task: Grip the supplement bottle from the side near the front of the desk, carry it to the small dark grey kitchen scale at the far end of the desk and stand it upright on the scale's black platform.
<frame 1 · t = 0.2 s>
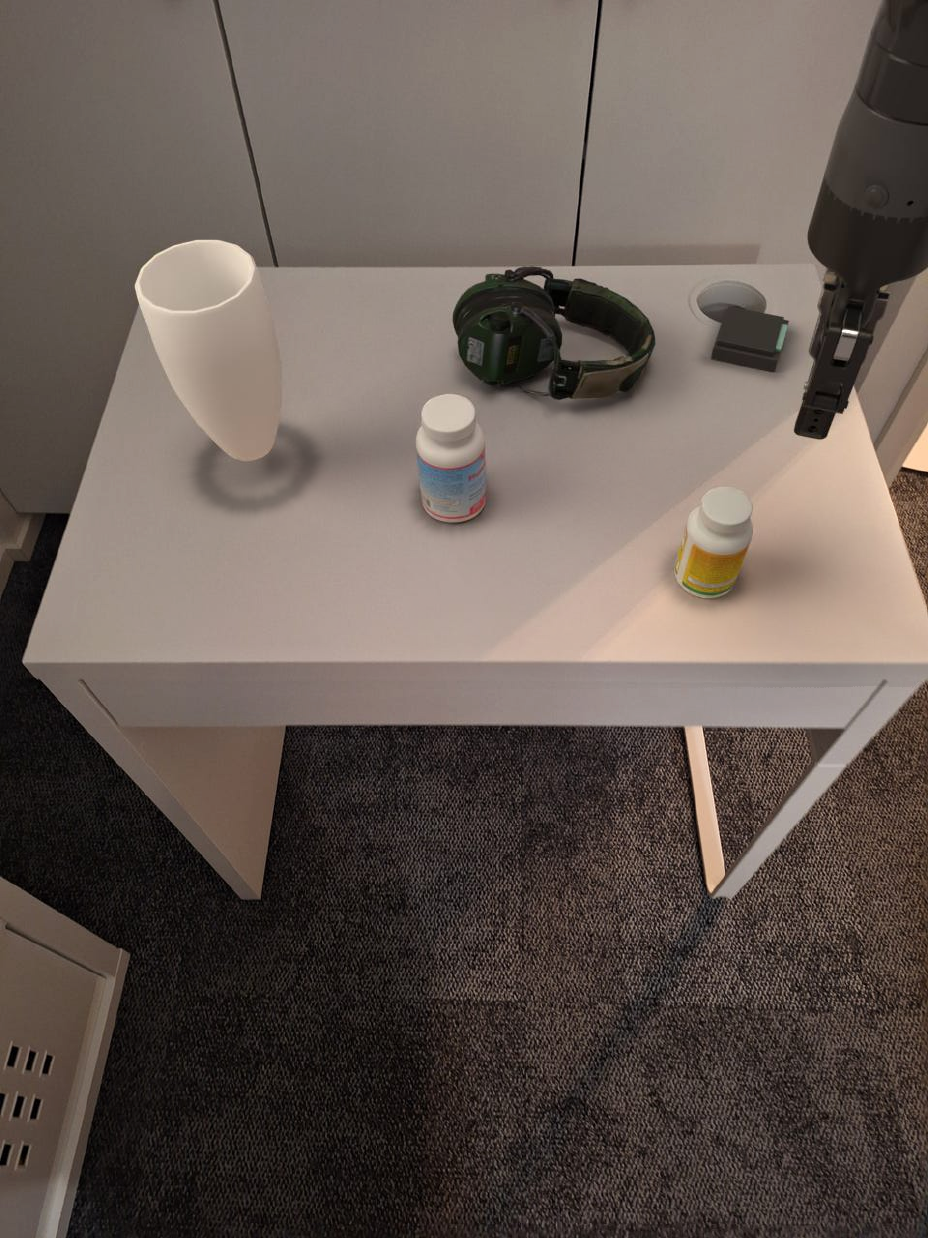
hand: (817, 392, 65), 20 cm above the table, tool pointing down, fingers open, 8 cm apart
pill bottle: (454, 501, 87), on the table
supplement bottle: (704, 577, 81), on the table
cup: (257, 466, 90), on the table
headphones: (551, 366, 96), on the table
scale: (748, 345, 97), on the table
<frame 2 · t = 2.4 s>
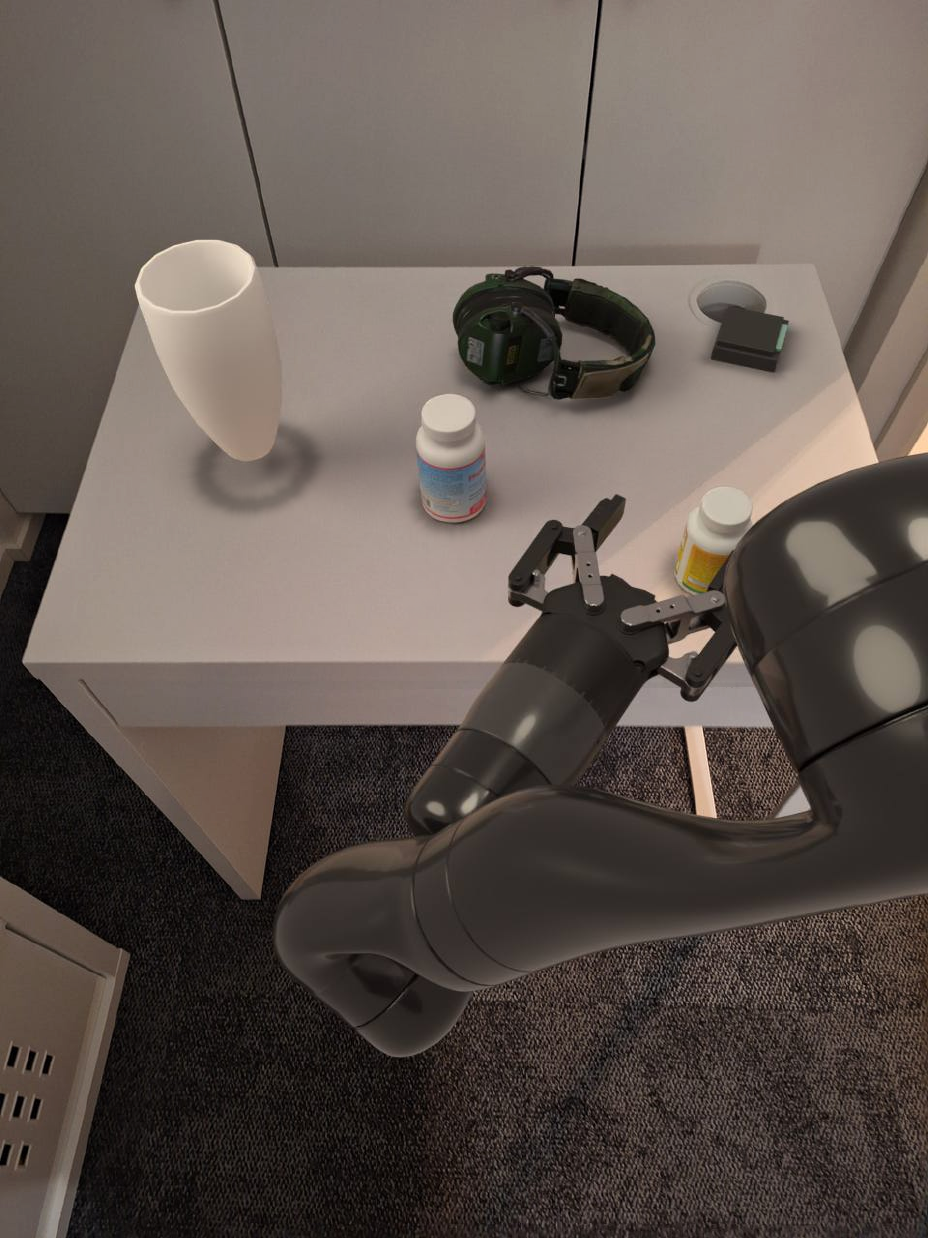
hand: (676, 530, 61), 18 cm above the table, tool horizontal, fingers open, 8 cm apart
nothing on the table moved.
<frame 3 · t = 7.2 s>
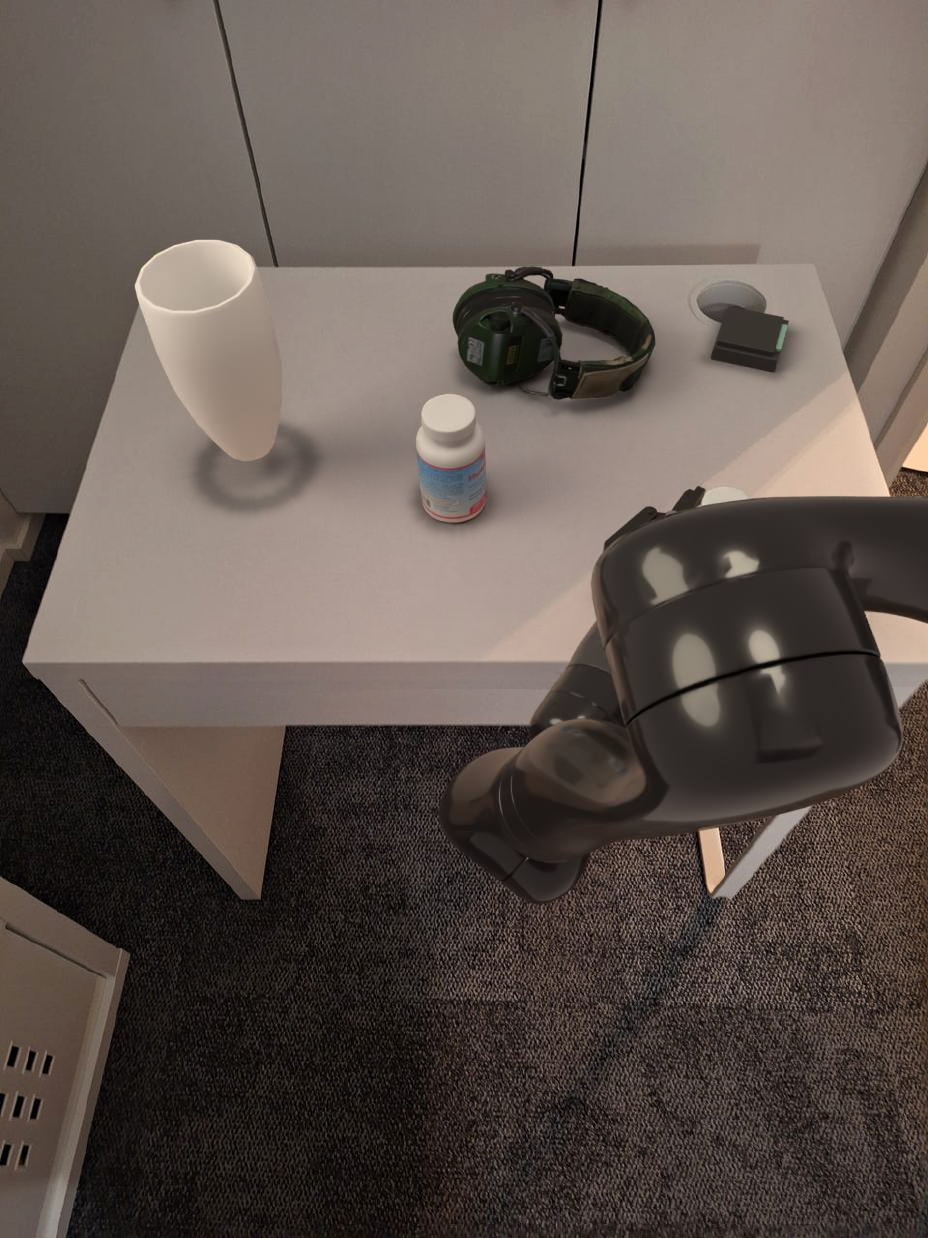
hand: (732, 509, 76), 7 cm above the table, tool horizontal, fingers closed on supplement bottle, 5 cm apart
supplement bottle: (704, 577, 81), on the table, touching gripper
everything else where it was.
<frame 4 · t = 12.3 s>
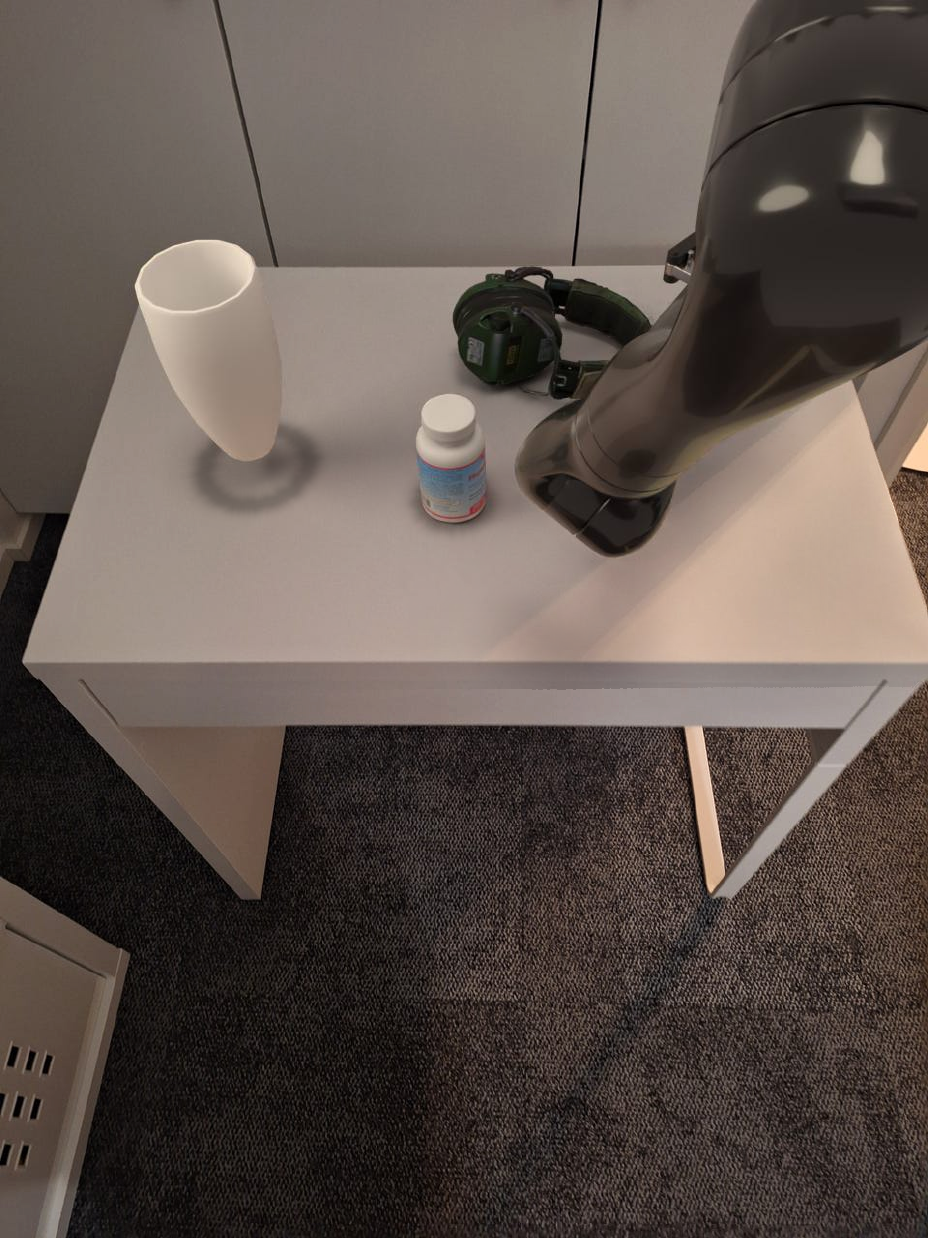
hand: (793, 229, 76), 20 cm above the table, tool horizontal, fingers closed on supplement bottle, 5 cm apart
supplement bottle: (761, 313, 80), point 13 cm above the table, touching gripper
everything else where it was.
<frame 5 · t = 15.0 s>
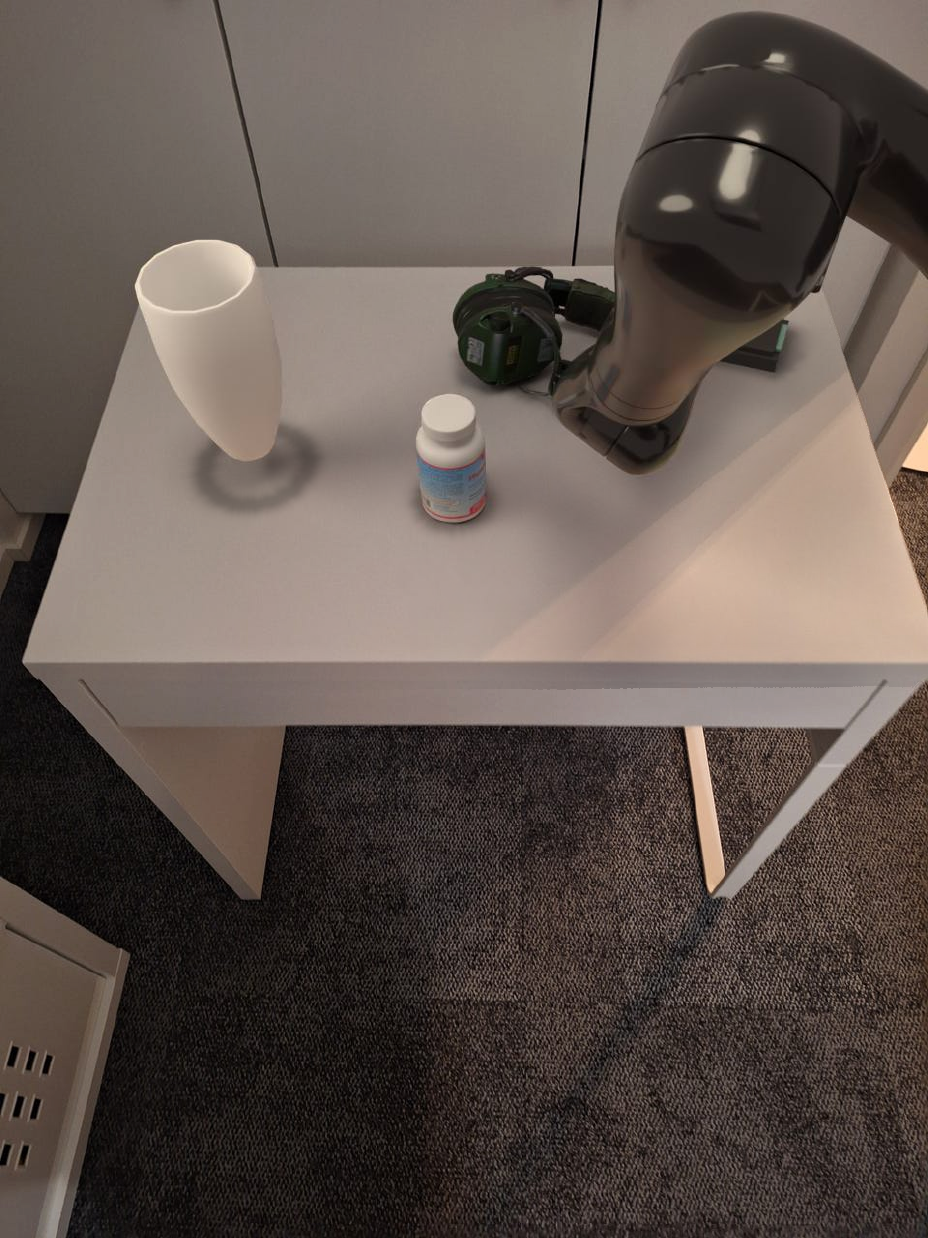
hand: (794, 200, 85), 15 cm above the table, tool horizontal, fingers closed on supplement bottle, 5 cm apart
supplement bottle: (765, 277, 90), point 8 cm above the table, touching gripper
everything else where it was.
when the fingers open (9 cm above the table, at t = 17.3 s): supplement bottle stays where it is, resting on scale.
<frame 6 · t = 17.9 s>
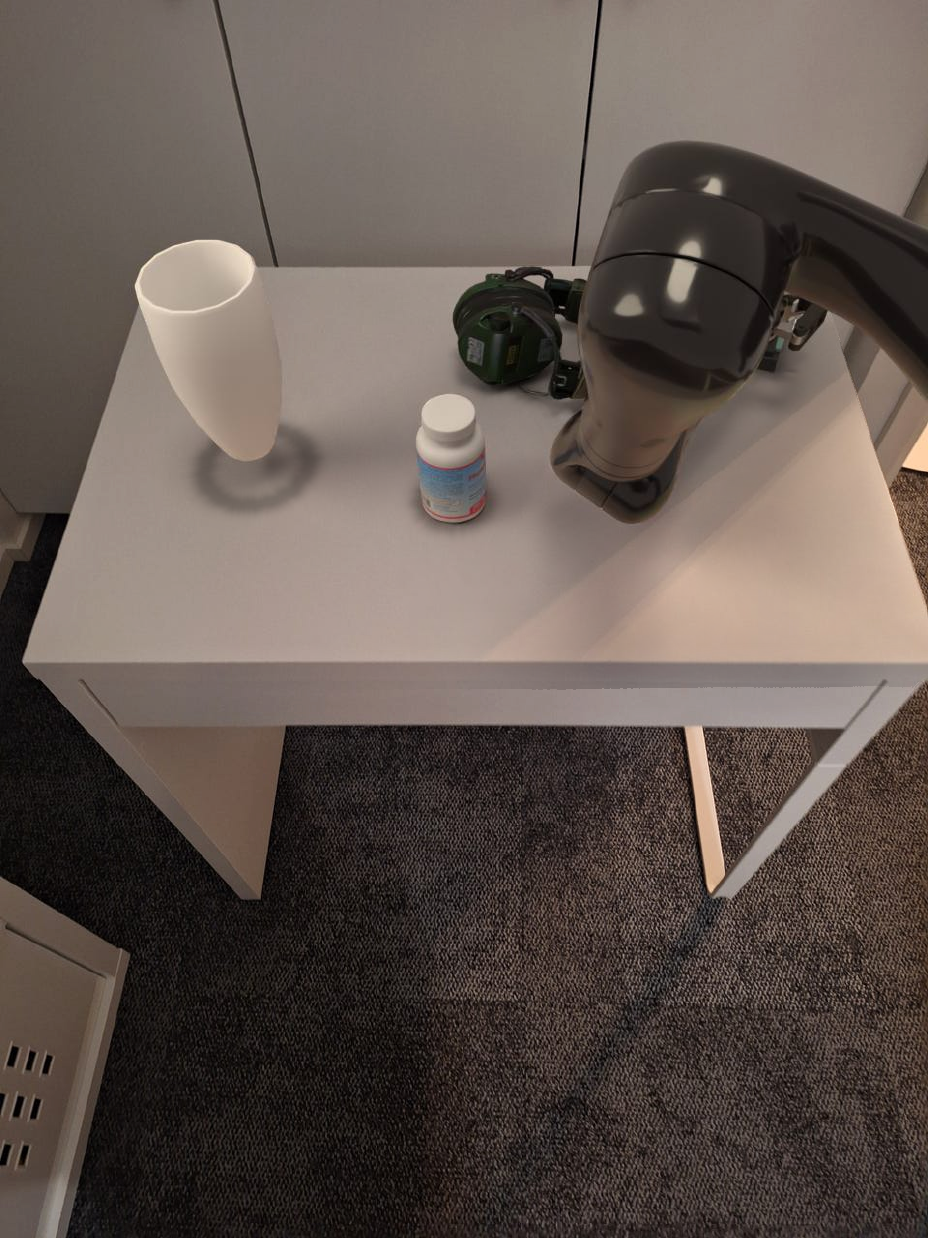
hand: (778, 258, 90), 9 cm above the table, tool horizontal, fingers open, 8 cm apart
supplement bottle: (751, 330, 95), point 2 cm above the table, touching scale
everything else where it was.
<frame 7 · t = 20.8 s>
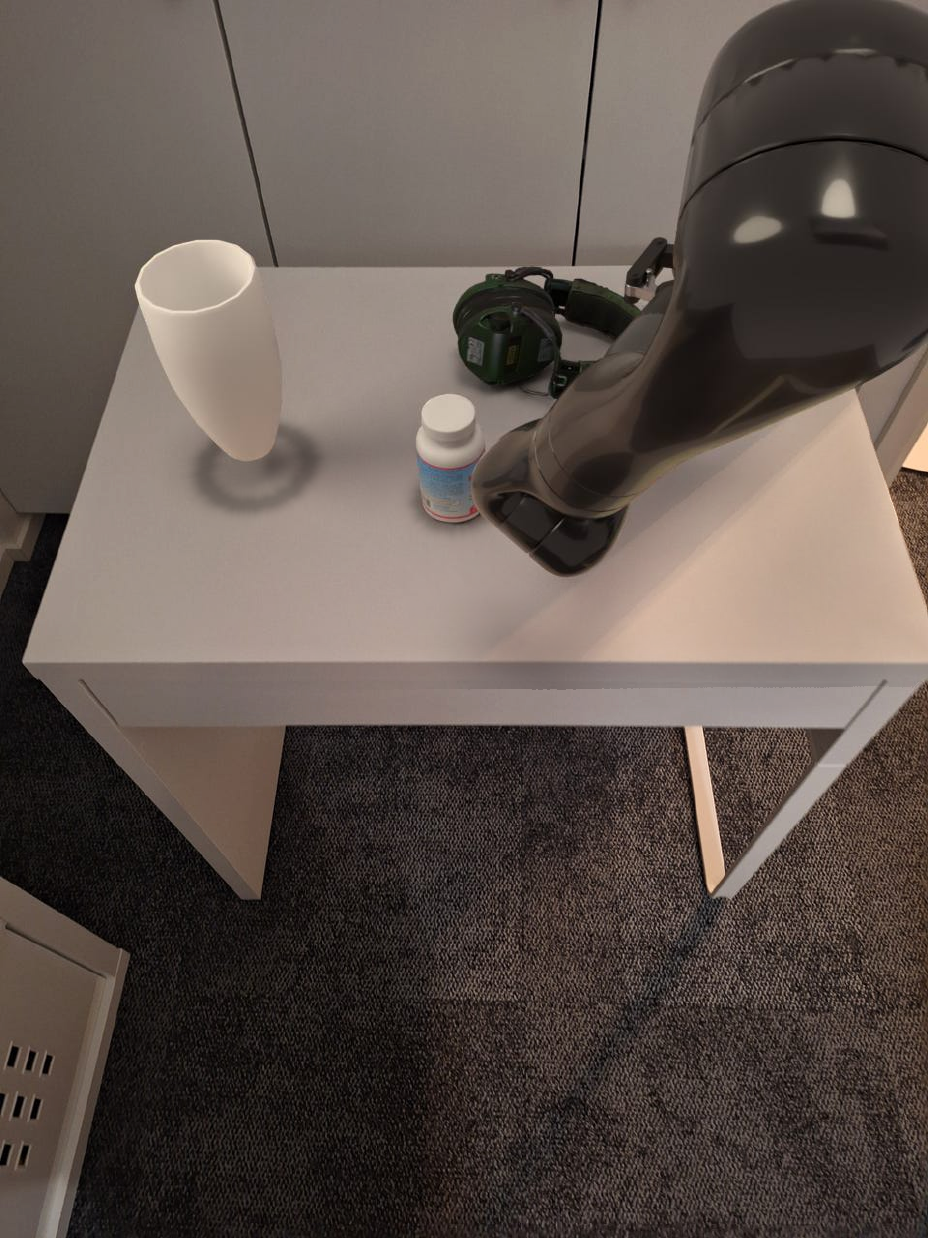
hand: (758, 247, 75), 19 cm above the table, tool horizontal, fingers open, 8 cm apart
nothing on the table moved.
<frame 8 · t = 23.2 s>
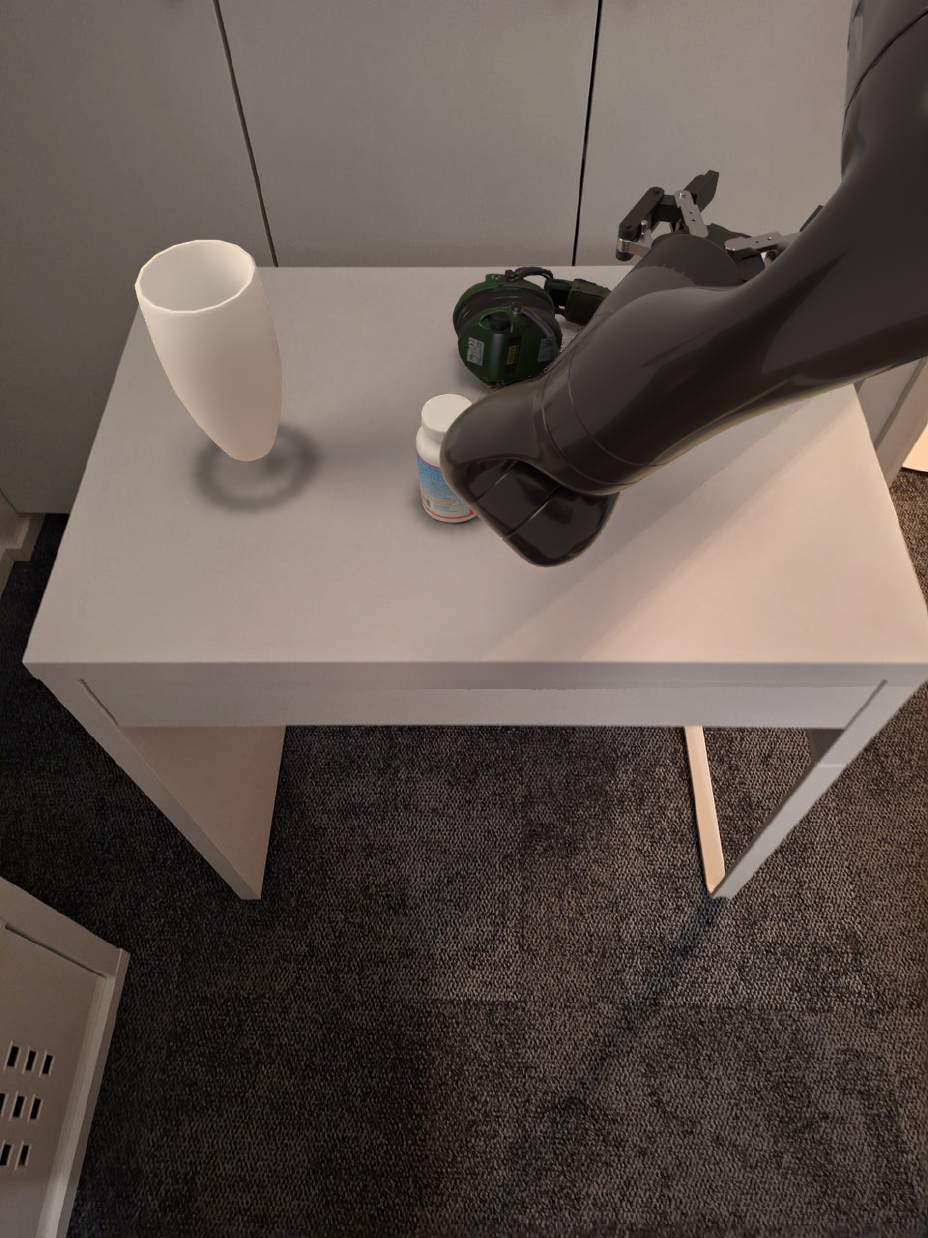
hand: (765, 199, 67), 26 cm above the table, tool horizontal, fingers open, 8 cm apart
nothing on the table moved.
at the end: supplement bottle 0.2 cm off-centre on the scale, point 2.0 cm above the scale's base; supplement bottle tilted 0°; the gripper is holding nothing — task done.
